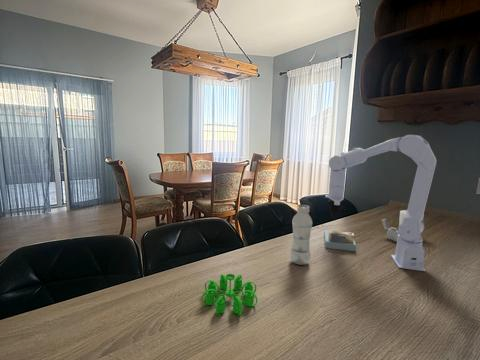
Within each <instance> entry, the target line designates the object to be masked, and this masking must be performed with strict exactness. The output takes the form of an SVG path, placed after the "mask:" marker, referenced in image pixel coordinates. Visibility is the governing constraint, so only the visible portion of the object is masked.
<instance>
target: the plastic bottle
mask: <svg viewBox="0 0 480 360" xmlns="http://www.w3.org/2000/svg"><path fill="white" fill-rule="evenodd" d="M296 212H297V213H296V214H295V215H294V216H293V218H292V220H291V222H292V223H291V224H292V244H291V249H290V253H289V255H290V260H291V261H292V263H293V264H296V265H299V266H306V265H307V264H309V262H310V261H311V251H310V250H311V249H310V239H311V231H312V228H313V219H312V217H311V216H310V214H309V213H310V205H307V204H299V205H297V210H296Z"/></svg>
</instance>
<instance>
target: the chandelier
mask: <svg viewBox="0 0 480 360" xmlns="http://www.w3.org/2000/svg"><path fill="white" fill-rule="evenodd" d="M233 280H234V281H233ZM228 281H229V288H228ZM232 281H233V282H234V285H233V288H232ZM207 283H208V285H207ZM253 285H254V287H253ZM204 290H205V291H204V292H203V294H202V295H201V302H202V304H203V305H204V306H212V305H215V314H216V315H217V316H220V315H221V314H223V313H224V312H225V310H226V301H227V300H226V299H228V298H231V299H232V300H233V302H232V311H233V313H234V314H237V316H238V317H239V316H241V315H242V311H243V304H244V305H245V306H247V307H252V308H254V307H255V306H256V305H257V304H258V297H257V294H255V293H256V291H257V284H256V283H255V282H254V281H251V280H250V281H246V282H244V284H243V275H241V274H238V275H237V276H236V277H235V275H234V273H228V274H226V275H225V274H220V279H219V284H218V282H216V281H215V280H212V279H209V280H207V281H206V282H205V284H204ZM243 290H244V291H243ZM220 292H223V293H222V294H219V293H220ZM236 293H241V295H240V294H236ZM225 296H226V297H225ZM204 297H205V302H204V300H203V298H204ZM215 297H216V298H215ZM243 297H244V298H243ZM254 299H255V304H254Z"/></svg>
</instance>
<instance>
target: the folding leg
mask: <svg viewBox="0 0 480 360" xmlns="http://www.w3.org/2000/svg"><path fill="white" fill-rule="evenodd" d="M328 231H329V237H328V238H329V240H331V234H341V235H345V236H346V238H345V242H352V243H354V241H355V234H354V232H350V231H349V232H348V231H340V230H339V231H338V230H337V231H336V230H328Z"/></svg>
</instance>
